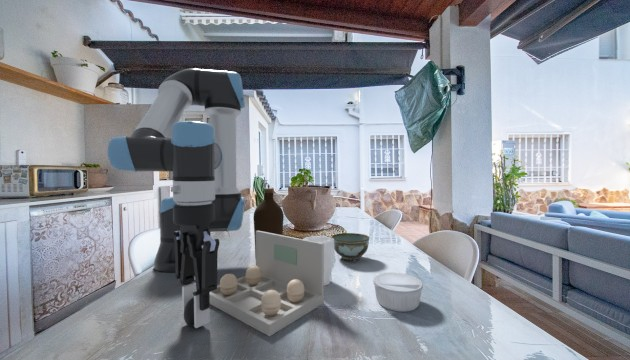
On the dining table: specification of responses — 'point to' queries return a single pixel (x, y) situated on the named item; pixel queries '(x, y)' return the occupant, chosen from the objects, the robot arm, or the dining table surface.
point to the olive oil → (268, 216)
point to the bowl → (350, 245)
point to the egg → (189, 312)
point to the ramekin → (398, 291)
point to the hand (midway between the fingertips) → (195, 319)
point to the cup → (325, 254)
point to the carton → (275, 284)
